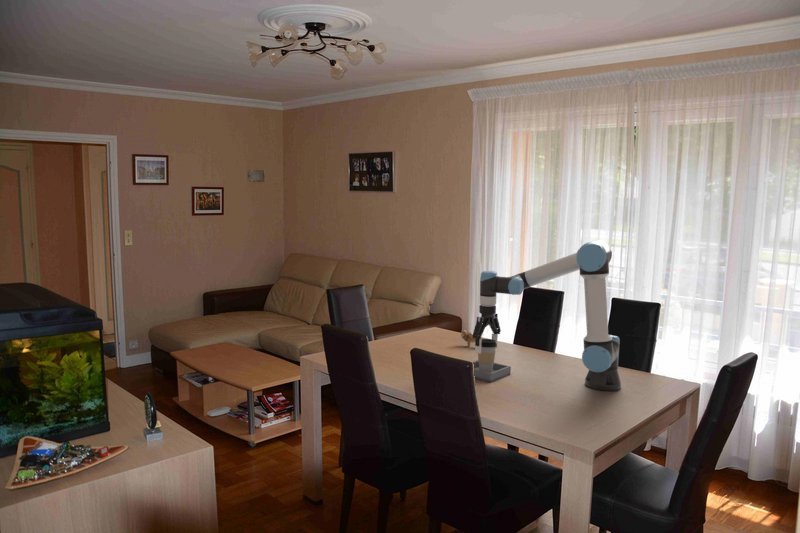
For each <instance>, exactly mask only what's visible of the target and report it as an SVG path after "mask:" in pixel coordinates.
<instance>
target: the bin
mask: <svg viewBox="0 0 800 533" xmlns="http://www.w3.org/2000/svg"><path fill="white" fill-rule="evenodd" d="M472 362H473V364H474V376H475V380H480V381H482V382H483V381H484V382H487V383H493V382H495V381H498V380H501V379H503V378H506V377H508V376H510V375H511V370H512V369H511V367H512V366H511V365H506V364H502V363H498V362H494V363H493V370H492V372H491V373H488V372H484V371H480V370H479V362H478V359H477V360H474V361H472Z"/></svg>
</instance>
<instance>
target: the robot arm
mask: <svg viewBox="0 0 800 533" xmlns="http://www.w3.org/2000/svg"><path fill="white" fill-rule="evenodd" d="M612 256H613V251H612V249H611V247H610V246H609V244H608V243H606V242H605V241H603V240H594V241H589V242H586V243H584V244H583V245H581V246H580V247H579V249H578V250H577V251H576V252H575V253H573V254H569V255H566V256H564V257H561V258H558V259H555V260H553V261H551V262H550V261H549V262H548V263H547V262H546V263H545V264H542V265H540V266H539V265H538V266H536V267H534V268H531V269H528V270H526V271H523V272H520V273H517V274H514V275H511V276H507V277H506V276H498V273H497V271H494V270H484V271H483V270H482V272H481V273H480V278H479V279H480V280H479V306H478V307H479V308H478V309H479V310H478V311H479V314H480V315H481V316H476V322H475V325H474V330H473V333H472V335H473V336H472V338H475V342H474V343H475V344H474V345H475V347H474V348H475V349H474V350H475V351H474V353H476V354H478V353H481V339H480V338H482V336H483V335H484V334H483V333H484V331H485V329H486V328H487V326H489V328H490V330H491V331H492V333H491V339H492V340H495V341H496V343H497V344H498V336H499V335H500V334H501V326H500V322H499V318H498V313H497V307H496V305H497V294H506V295H512V296H514V295H515V296H516V295H518V296H520V295H522V294H523V292H524V290H526V289H529V288H531V287H535V286H537V285H539V284H543V283H545V282H548V281H551V280H554V279H557V278H560V277H563V276H566V275H568V274H572V273H574V272H577V271H579V275H580V276H581V277H582V278H583V285H584V304H585V321H586V322H585V324H586V326H585V327H586V335H585V336H584V337H583V351H582V354H581V361H582V363H583V365H584V367H585V368H587V370H588V372H587V373H586V376H585V378H584V385H585V386H586V387H589V388H591V389H594V390H599V391H606V392H607V391H608V392H609V391H610V392H611V391H618V390H621V388H622V381H621V378H620V373H619V371H618V370H619V358H620V357H619V355H620V345H621V343H620V342H621V341H620V337H619V336H617V335H612V334H609V322H608V304H607V302H608V300H607V286H606V285H607V283H606V278H607V277H608V275H610V271H609V270H610V268H609V266H610V265H609V263H610V262H611V259H612ZM497 348H498V345H497V346H496V349H497Z"/></svg>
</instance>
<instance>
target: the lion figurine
mask: <svg viewBox="0 0 800 533" xmlns="http://www.w3.org/2000/svg"><path fill="white" fill-rule="evenodd" d="M472 336H473V333H471V332H469V331H468V330H466V329H464V330H462V331H461V335H460V337H461V338H462V339H463V340H464V341H465V342H466V344H467V345H466V348H470V347H471V343H475V338H472ZM480 339H483V338H482V337H481V338H480Z"/></svg>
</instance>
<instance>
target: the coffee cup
mask: <svg viewBox="0 0 800 533" xmlns="http://www.w3.org/2000/svg"><path fill="white" fill-rule="evenodd" d="M496 346H497V347H498V342H497V343H496V341H495V340H492V338H482V339H481V353H477V360H478V362H479V370H480V371H484V372H488V373H491V372H492V370H493V363H495V359H496V358H495V357H496V349H497V348H496Z"/></svg>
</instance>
